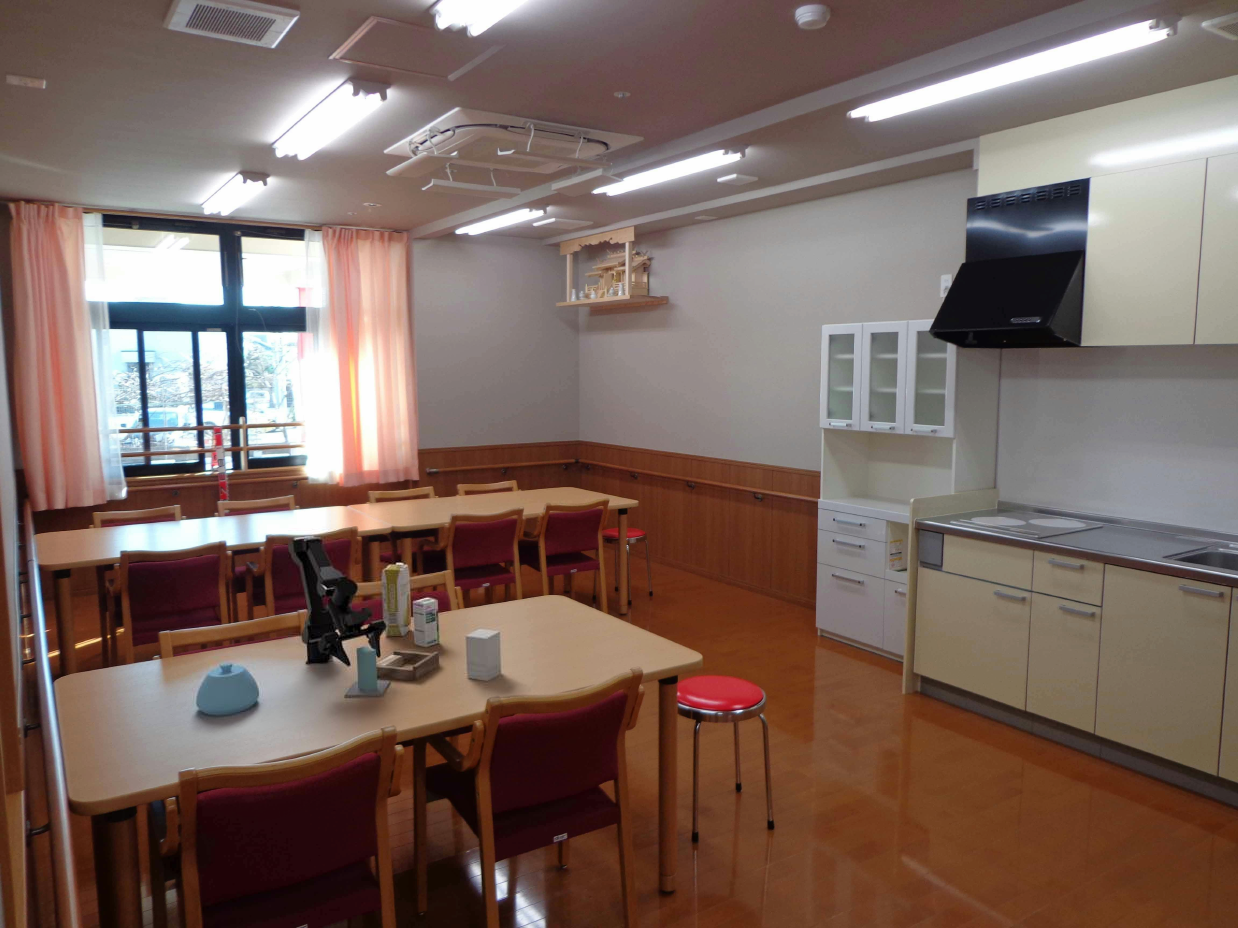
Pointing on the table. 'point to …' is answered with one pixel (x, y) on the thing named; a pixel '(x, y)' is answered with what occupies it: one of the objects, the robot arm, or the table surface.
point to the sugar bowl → (227, 690)
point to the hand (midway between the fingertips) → (364, 661)
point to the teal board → (366, 668)
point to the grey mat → (358, 692)
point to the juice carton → (396, 599)
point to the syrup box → (426, 622)
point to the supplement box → (483, 654)
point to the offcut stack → (391, 661)
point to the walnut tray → (421, 668)
